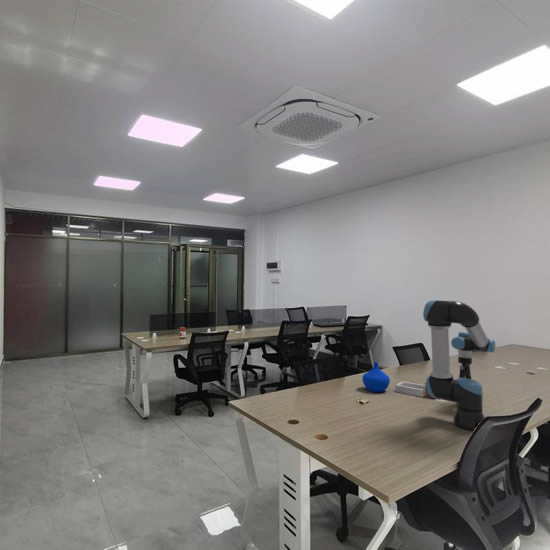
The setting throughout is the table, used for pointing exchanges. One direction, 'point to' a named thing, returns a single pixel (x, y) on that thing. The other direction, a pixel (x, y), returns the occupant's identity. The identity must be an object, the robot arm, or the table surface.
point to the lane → (410, 388)
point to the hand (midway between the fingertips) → (465, 391)
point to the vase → (376, 379)
